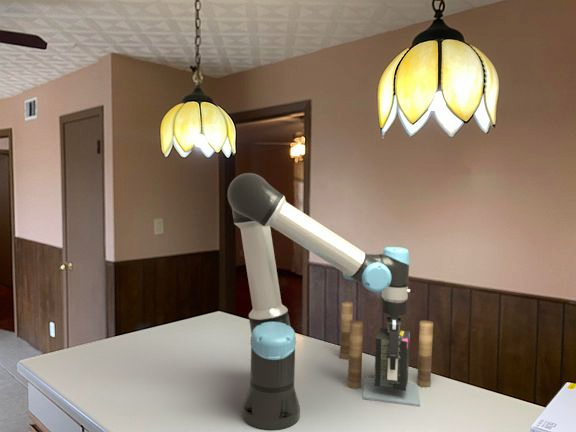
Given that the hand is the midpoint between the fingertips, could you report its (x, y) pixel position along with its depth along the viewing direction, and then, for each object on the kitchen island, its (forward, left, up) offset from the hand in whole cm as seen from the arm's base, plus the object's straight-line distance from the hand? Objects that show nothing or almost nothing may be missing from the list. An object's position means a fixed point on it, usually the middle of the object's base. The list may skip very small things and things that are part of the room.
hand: (392, 371), depth 133 cm
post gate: (+24, +16, -6) cm, 30 cm away
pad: (0, 0, -6) cm, 6 cm away
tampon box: (0, 0, -3) cm, 3 cm away
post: (+8, -10, -6) cm, 14 cm away
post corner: (+1, +11, -6) cm, 13 cm away
